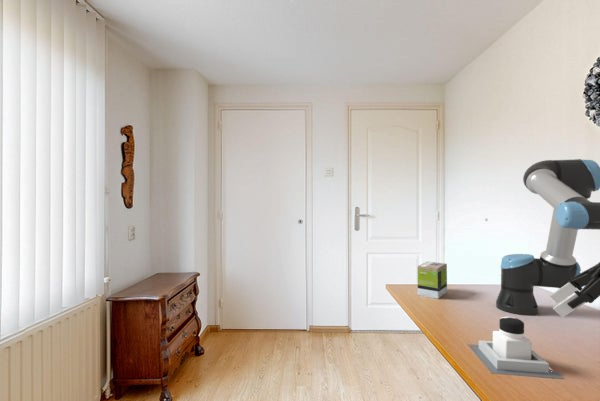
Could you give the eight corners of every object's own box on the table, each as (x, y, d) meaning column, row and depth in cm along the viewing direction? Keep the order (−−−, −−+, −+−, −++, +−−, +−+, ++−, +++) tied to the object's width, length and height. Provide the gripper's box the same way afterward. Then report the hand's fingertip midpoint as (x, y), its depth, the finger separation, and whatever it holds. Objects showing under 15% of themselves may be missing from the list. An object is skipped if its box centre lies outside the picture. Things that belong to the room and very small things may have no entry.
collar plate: (527, 351, 105) (527, 340, 105) (564, 382, 87) (565, 369, 87) (467, 347, 107) (467, 336, 107) (491, 376, 89) (491, 363, 89)
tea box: (427, 289, 173) (427, 260, 173) (447, 292, 167) (447, 263, 166) (416, 295, 161) (417, 265, 161) (438, 299, 155) (438, 268, 155)
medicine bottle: (531, 366, 93) (532, 323, 93) (505, 365, 93) (506, 323, 93) (515, 354, 100) (516, 314, 100) (491, 353, 100) (492, 314, 100)
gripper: (662, 278, 72) (573, 332, 80) (631, 260, 92) (563, 305, 101) (628, 251, 75) (546, 306, 83) (605, 240, 95) (541, 285, 104)
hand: (555, 305), depth 92 cm, fingers open, 13 cm apart
